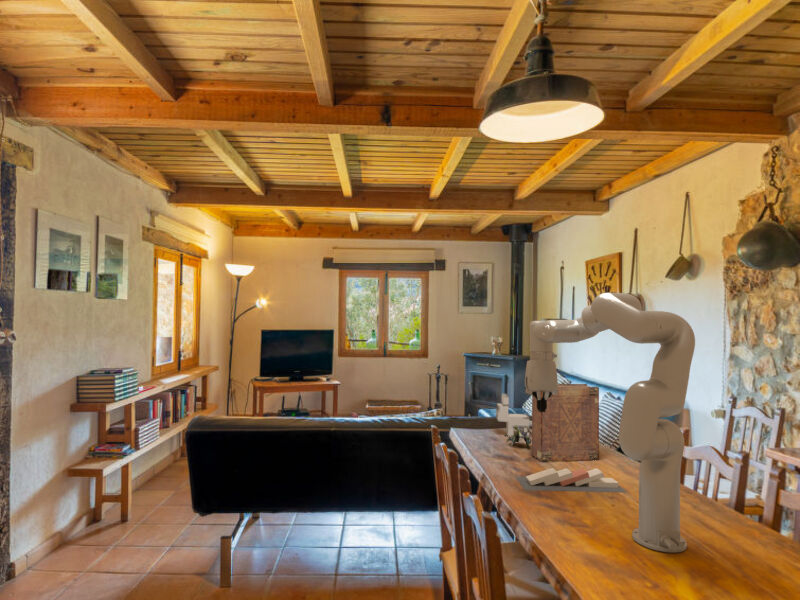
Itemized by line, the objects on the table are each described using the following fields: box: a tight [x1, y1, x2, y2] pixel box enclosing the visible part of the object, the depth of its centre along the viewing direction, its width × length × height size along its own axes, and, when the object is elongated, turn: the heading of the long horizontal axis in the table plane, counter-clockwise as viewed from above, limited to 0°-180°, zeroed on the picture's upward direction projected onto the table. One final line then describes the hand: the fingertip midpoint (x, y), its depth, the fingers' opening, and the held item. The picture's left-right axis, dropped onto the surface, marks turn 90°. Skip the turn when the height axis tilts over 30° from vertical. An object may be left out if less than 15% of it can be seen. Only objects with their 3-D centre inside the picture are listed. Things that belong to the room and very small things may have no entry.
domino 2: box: [542, 467, 573, 486], centre depth 171 cm, size 5×2×10 cm
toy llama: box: [495, 392, 532, 437], centre depth 242 cm, size 8×18×20 cm, turn 85°
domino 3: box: [558, 467, 589, 486], centre depth 171 cm, size 5×2×10 cm
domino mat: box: [515, 476, 627, 493], centre depth 171 cm, size 14×34×1 cm, turn 90°
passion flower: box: [504, 425, 532, 448], centre depth 221 cm, size 11×11×12 cm
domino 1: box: [525, 467, 559, 486], centre depth 171 cm, size 5×2×10 cm
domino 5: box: [585, 477, 619, 488], centre depth 171 cm, size 5×2×10 cm
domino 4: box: [573, 467, 605, 486], centre depth 171 cm, size 5×2×10 cm
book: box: [531, 383, 600, 463], centre depth 205 cm, size 25×9×30 cm, turn 101°
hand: (541, 411), depth 167 cm, fingers closed
